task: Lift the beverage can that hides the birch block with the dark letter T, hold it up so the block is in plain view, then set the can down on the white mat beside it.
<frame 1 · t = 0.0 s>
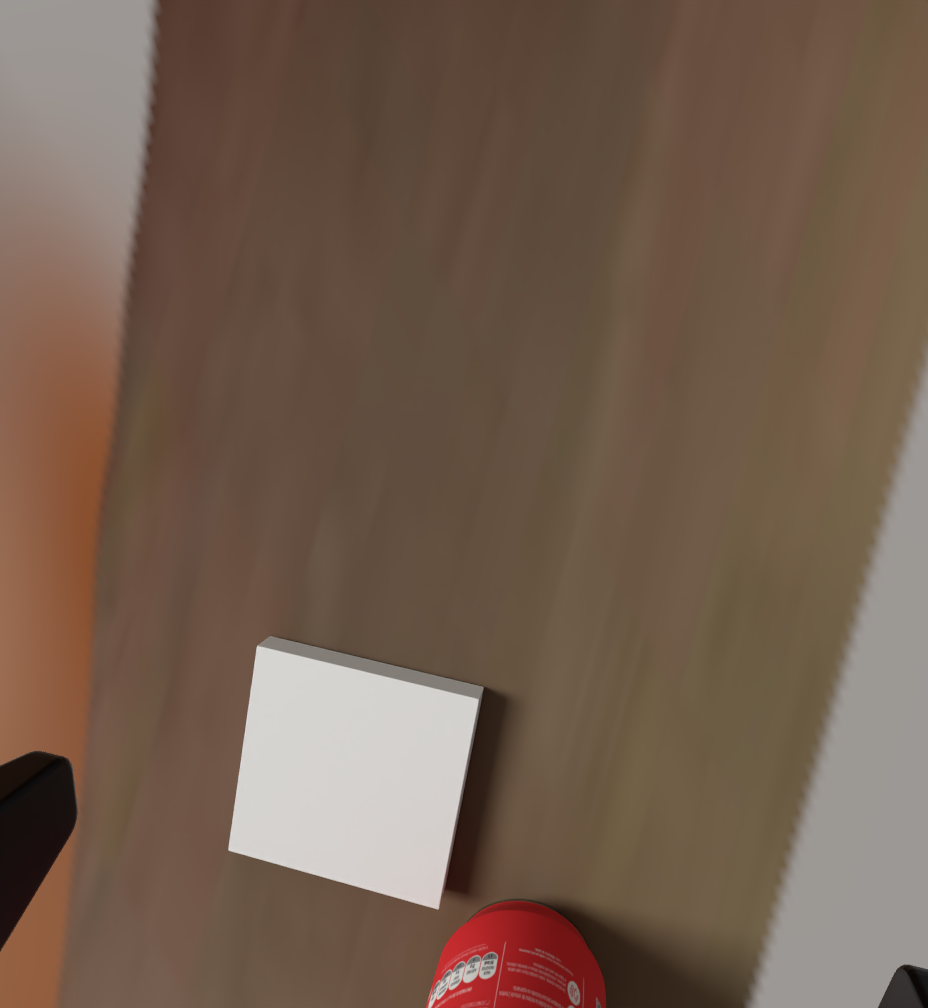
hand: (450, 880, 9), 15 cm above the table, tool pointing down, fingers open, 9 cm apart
beverage can: (524, 958, 26), on the table
white mat: (357, 763, 26), on the table
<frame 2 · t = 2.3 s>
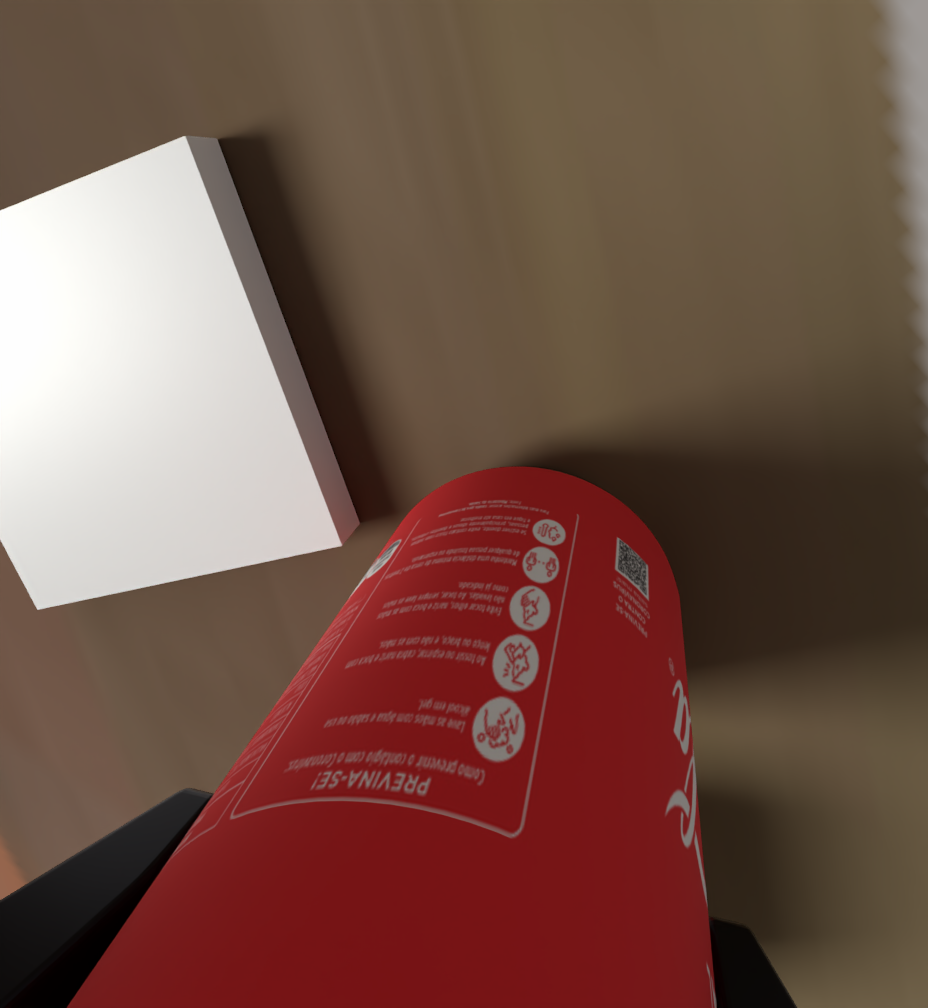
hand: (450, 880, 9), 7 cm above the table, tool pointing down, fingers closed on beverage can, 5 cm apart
beverage can: (533, 572, 15), on the table, touching gripper
white mat: (132, 393, 15), on the table
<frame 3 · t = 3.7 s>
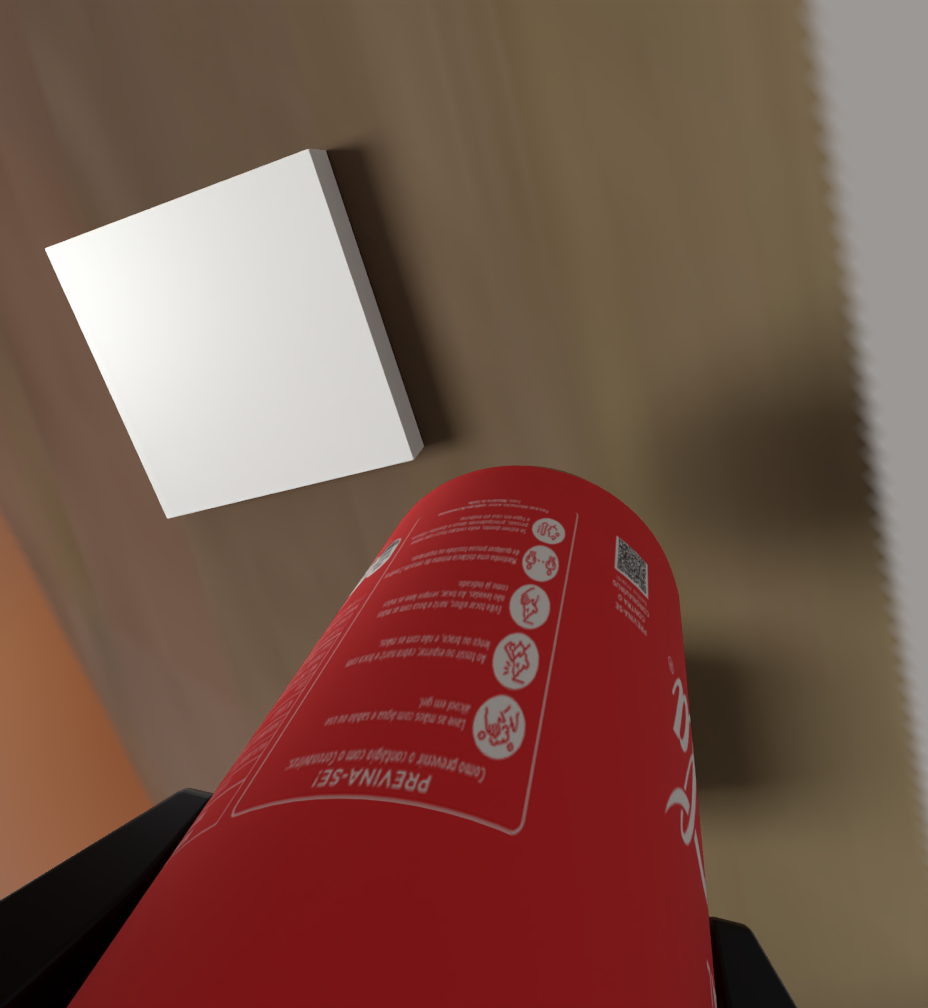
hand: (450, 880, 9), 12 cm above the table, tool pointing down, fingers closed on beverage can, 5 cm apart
beverage can: (532, 571, 15), point 5 cm above the table, touching gripper
white mat: (248, 346, 20), on the table
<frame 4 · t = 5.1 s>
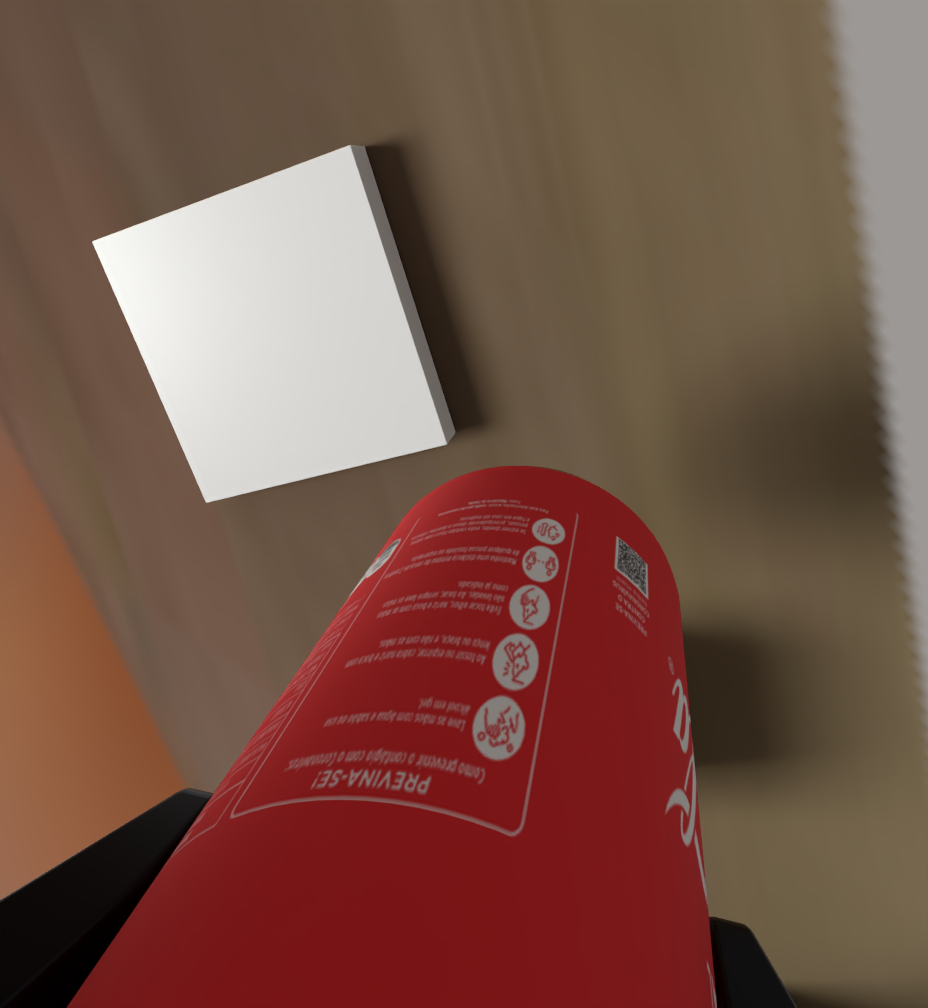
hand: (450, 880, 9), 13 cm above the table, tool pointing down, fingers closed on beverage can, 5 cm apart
beverage can: (532, 572, 15), point 6 cm above the table, touching gripper
white mat: (286, 335, 20), on the table
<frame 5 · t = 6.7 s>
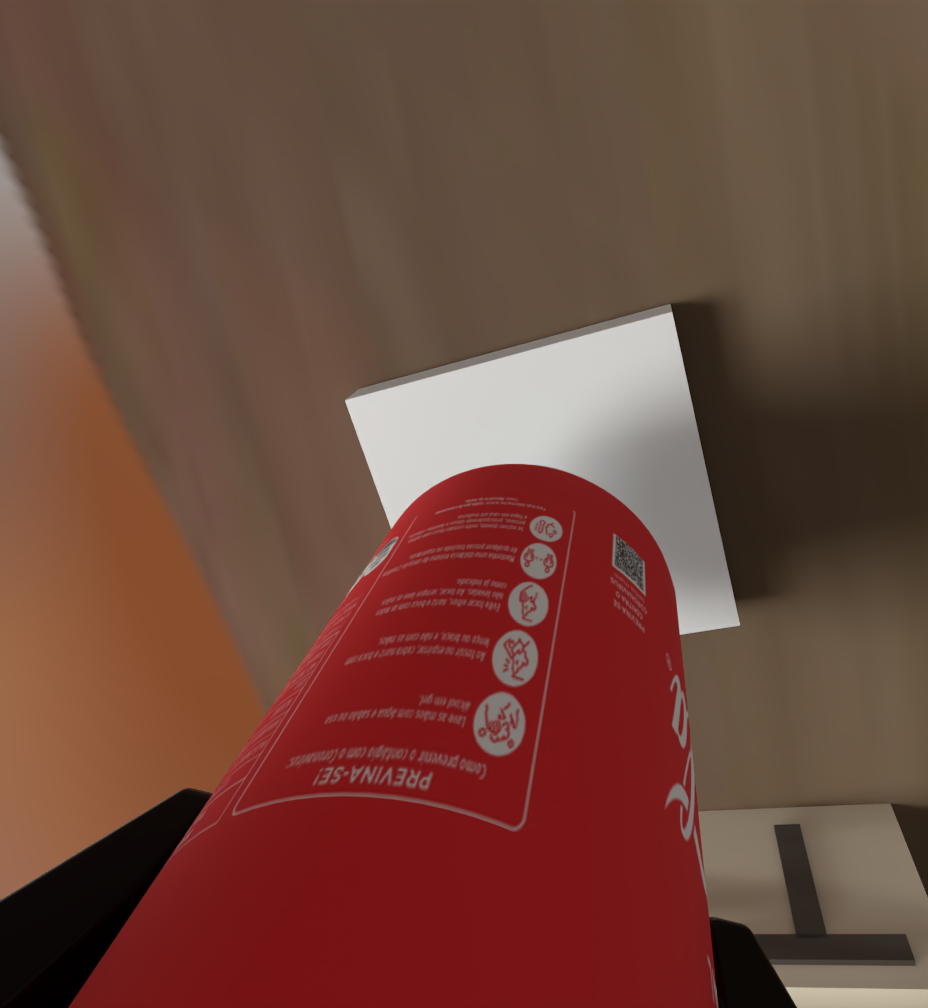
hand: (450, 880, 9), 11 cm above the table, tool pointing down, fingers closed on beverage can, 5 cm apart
beverage can: (529, 569, 15), point 4 cm above the table, touching gripper
white mat: (548, 496, 18), on the table
letter block: (791, 879, 21), on the table
when the fingers open (9 cm above the table, at t = 7.8 s): beverage can drops 1 cm, resting on white mat.
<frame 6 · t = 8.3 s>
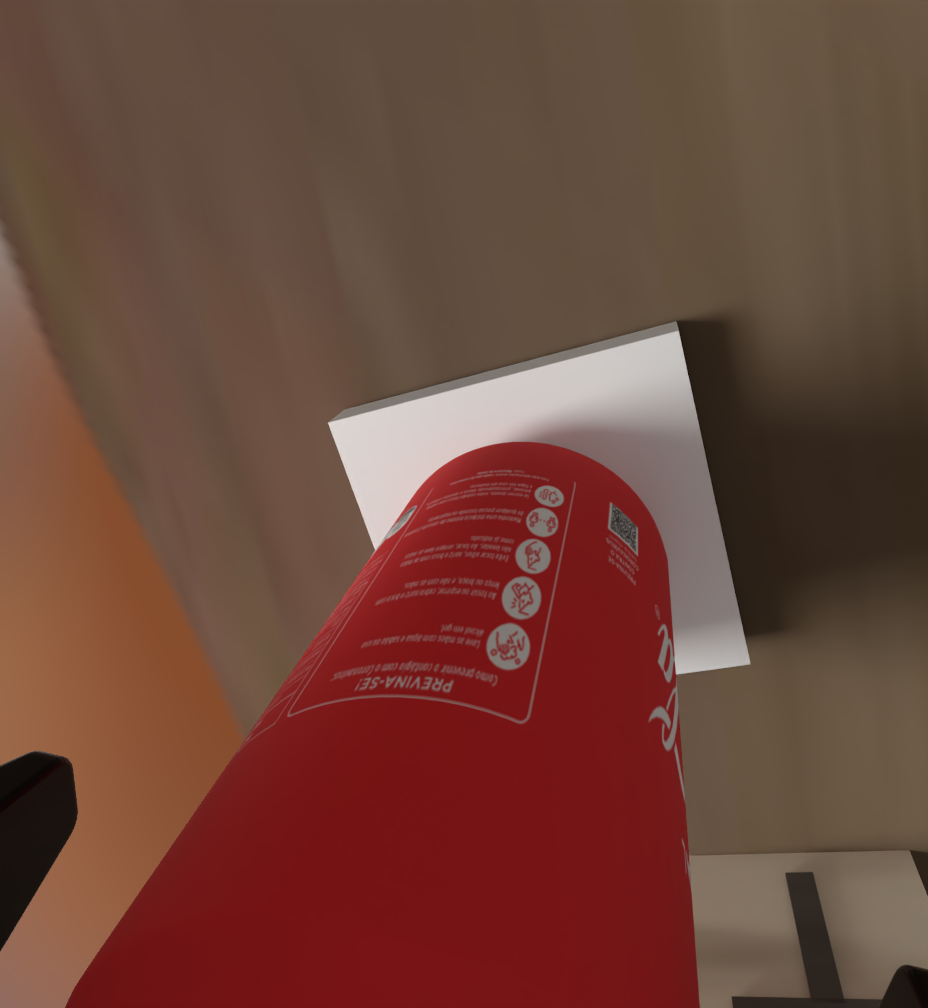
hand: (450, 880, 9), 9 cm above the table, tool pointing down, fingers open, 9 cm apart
beverage can: (534, 541, 16), point 1 cm above the table, touching white mat
white mat: (545, 524, 17), on the table
letter block: (803, 927, 20), on the table
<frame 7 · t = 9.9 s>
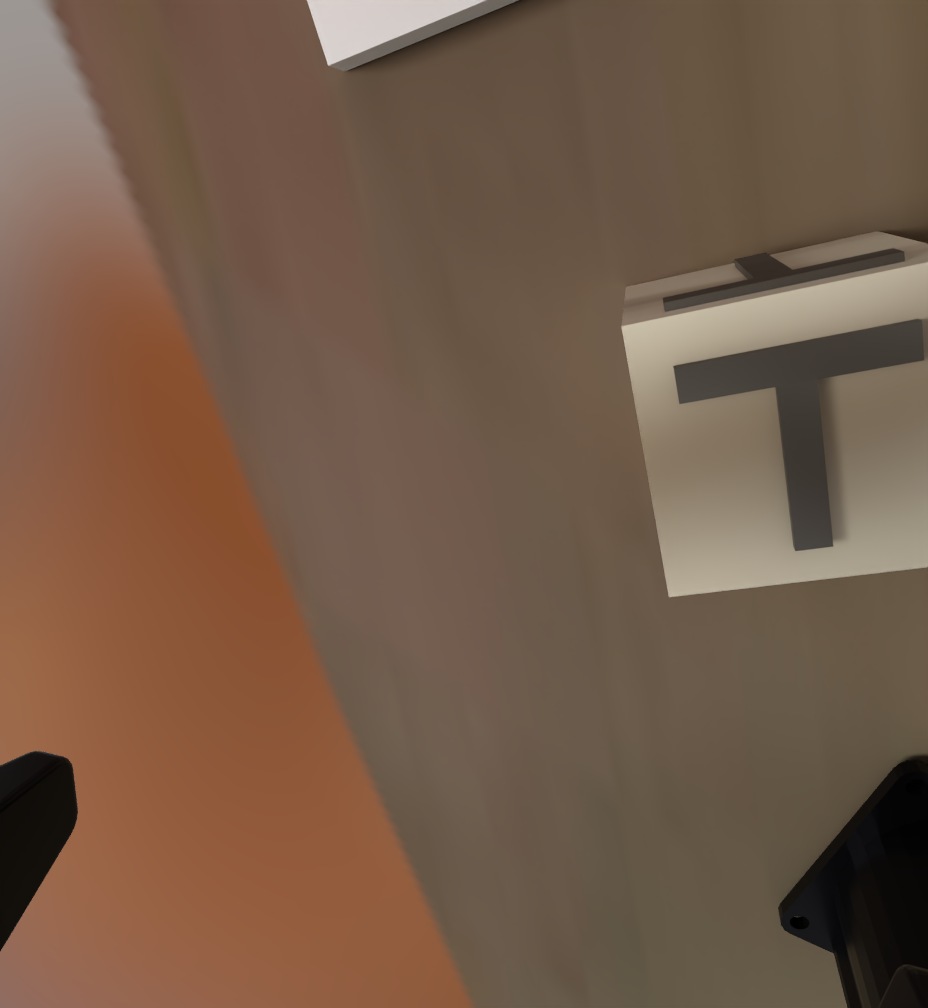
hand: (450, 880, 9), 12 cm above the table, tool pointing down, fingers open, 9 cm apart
letter block: (759, 374, 18), on the table
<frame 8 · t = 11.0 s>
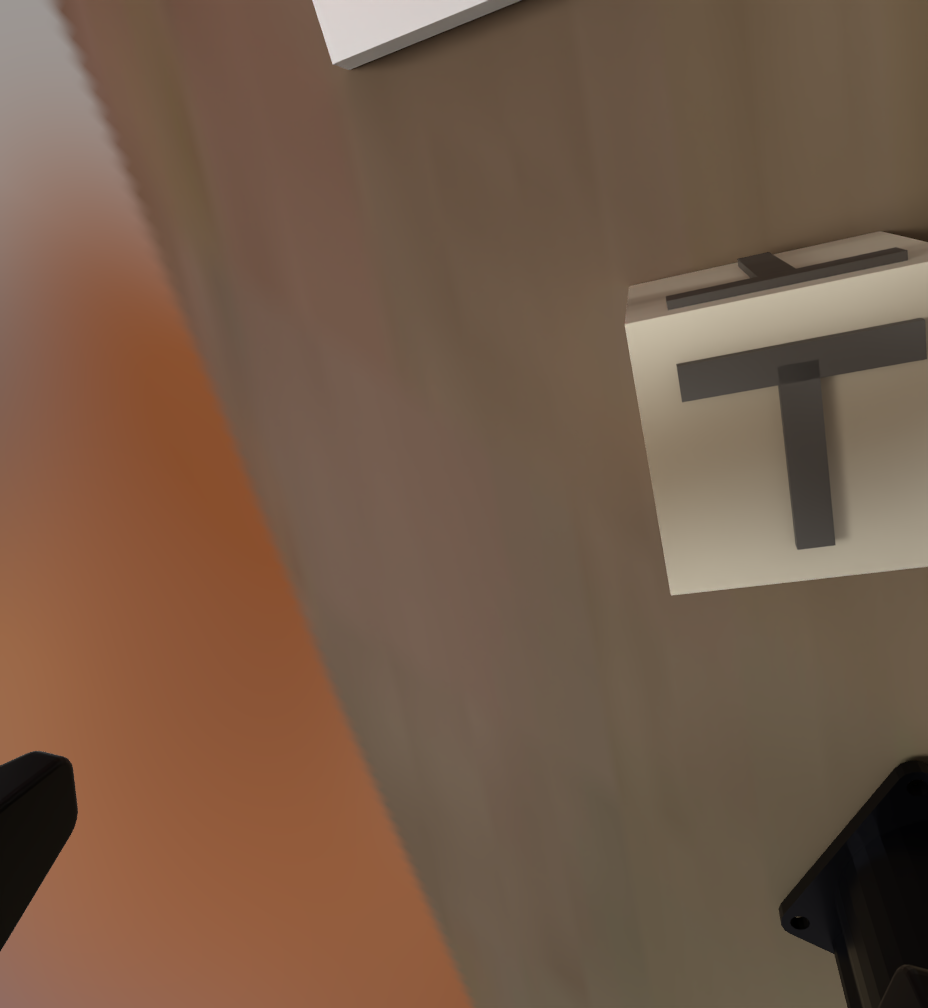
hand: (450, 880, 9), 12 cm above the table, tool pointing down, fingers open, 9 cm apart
letter block: (762, 374, 18), on the table
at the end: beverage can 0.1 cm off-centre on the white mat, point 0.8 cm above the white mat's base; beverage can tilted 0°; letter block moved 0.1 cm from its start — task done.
